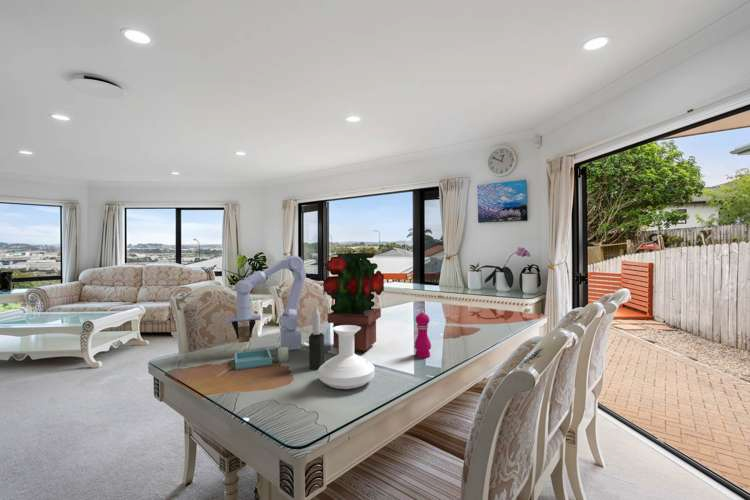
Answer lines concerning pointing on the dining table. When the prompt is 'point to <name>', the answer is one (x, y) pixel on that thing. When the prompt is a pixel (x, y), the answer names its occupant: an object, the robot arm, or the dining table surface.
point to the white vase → (346, 363)
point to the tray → (252, 359)
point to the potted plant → (354, 296)
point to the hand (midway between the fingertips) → (243, 337)
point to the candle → (316, 343)
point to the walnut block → (244, 334)
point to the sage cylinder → (283, 354)
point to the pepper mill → (422, 336)
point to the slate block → (271, 350)
